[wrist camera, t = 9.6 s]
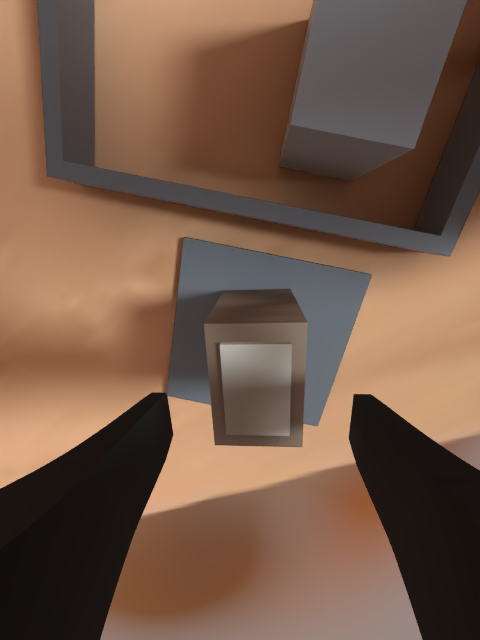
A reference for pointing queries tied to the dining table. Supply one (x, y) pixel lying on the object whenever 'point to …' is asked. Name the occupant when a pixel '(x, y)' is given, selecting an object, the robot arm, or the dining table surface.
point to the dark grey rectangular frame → (78, 167)
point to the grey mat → (251, 274)
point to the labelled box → (257, 368)
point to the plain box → (366, 82)
